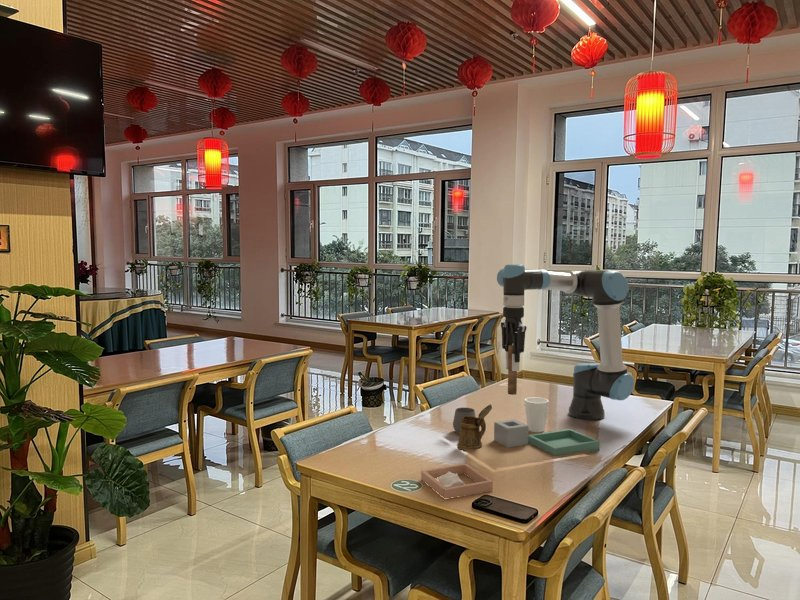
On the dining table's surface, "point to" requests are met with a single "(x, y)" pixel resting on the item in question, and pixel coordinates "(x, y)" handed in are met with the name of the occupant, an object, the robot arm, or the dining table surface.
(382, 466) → the dining table surface
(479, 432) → the wooden mug
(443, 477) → the white seashell
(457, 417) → the cup
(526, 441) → the grey hollow square block
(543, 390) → the dining table surface
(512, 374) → the dowel
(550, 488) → the dining table surface
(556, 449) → the tray
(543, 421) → the foam cup
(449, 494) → the pink square tray
